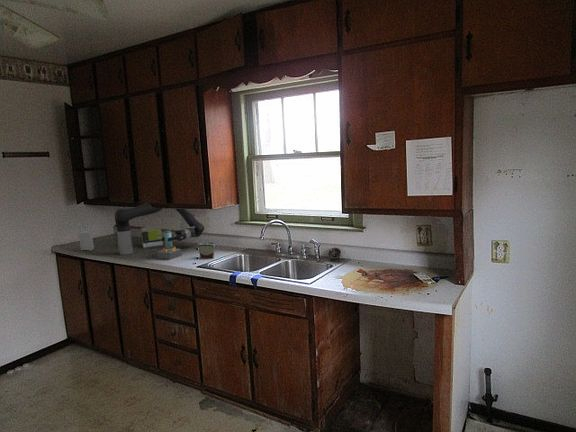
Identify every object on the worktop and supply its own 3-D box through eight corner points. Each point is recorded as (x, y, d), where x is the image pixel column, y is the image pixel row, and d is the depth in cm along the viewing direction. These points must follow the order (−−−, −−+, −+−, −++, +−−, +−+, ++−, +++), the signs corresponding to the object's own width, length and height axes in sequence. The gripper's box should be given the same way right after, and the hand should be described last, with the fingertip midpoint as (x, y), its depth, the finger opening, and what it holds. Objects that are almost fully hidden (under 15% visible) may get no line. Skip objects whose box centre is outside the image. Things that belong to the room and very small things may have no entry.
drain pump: (163, 248, 271) (162, 231, 269) (169, 246, 276) (167, 230, 274) (169, 249, 269) (167, 231, 267) (174, 247, 273) (172, 230, 271)
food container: (219, 256, 268) (217, 242, 266) (215, 258, 262) (213, 244, 261) (202, 256, 271) (201, 242, 270) (198, 258, 265) (197, 243, 264)
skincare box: (94, 248, 314) (92, 230, 312) (91, 250, 308) (89, 232, 306) (83, 249, 313) (80, 231, 310) (80, 251, 307) (77, 232, 304)
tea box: (161, 243, 323) (159, 225, 321) (163, 245, 314) (161, 227, 312) (142, 245, 317) (140, 227, 315) (143, 248, 308) (141, 229, 306)
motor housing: (157, 258, 270) (156, 249, 270) (170, 254, 281) (169, 245, 280) (169, 259, 265) (168, 250, 264) (181, 255, 276) (181, 246, 275)
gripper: (175, 229, 287) (157, 233, 272) (189, 230, 280) (172, 234, 265) (176, 239, 288) (158, 244, 273) (190, 240, 281) (173, 245, 266)
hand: (165, 239), depth 269 cm, fingers closed on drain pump, 5 cm apart
